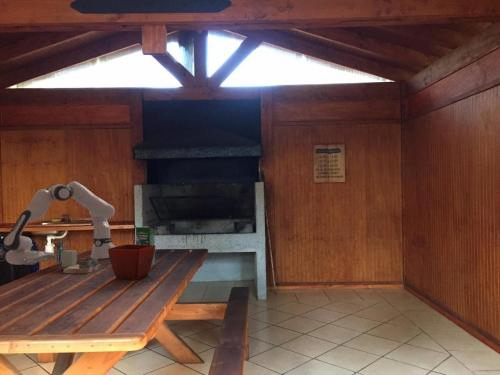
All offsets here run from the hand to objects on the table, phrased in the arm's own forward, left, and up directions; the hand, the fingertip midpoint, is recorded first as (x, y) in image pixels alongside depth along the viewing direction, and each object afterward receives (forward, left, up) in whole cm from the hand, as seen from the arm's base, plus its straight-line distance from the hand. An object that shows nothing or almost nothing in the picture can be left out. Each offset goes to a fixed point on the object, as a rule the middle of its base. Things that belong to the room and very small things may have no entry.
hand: (51, 258), depth 259 cm
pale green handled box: (0, +12, -6) cm, 14 cm away
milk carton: (-14, +56, -7) cm, 58 cm away
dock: (+5, +24, -6) cm, 25 cm away
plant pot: (+20, +63, -7) cm, 67 cm away
